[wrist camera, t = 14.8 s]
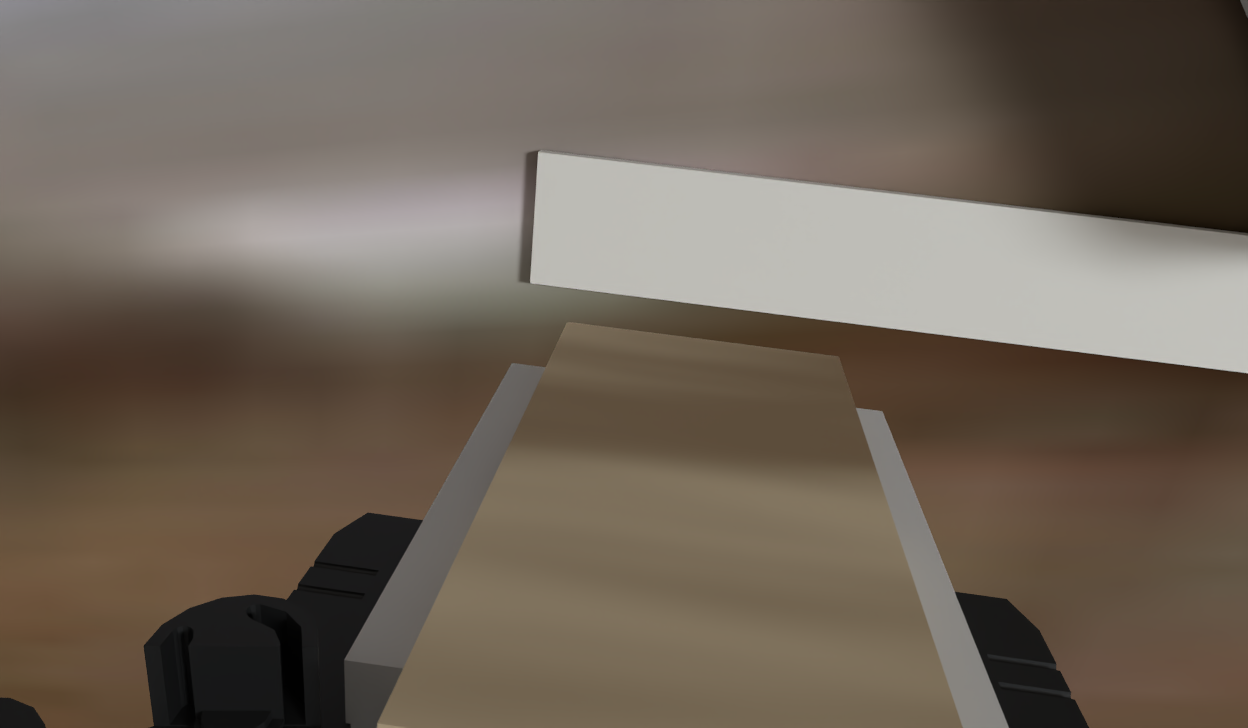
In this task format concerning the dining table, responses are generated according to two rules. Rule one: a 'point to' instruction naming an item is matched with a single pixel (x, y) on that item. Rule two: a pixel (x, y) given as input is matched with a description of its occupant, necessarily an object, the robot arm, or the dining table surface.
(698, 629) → the tan wooden block
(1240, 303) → the lath
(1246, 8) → the digital clock
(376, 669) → the robot arm
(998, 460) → the dining table surface
